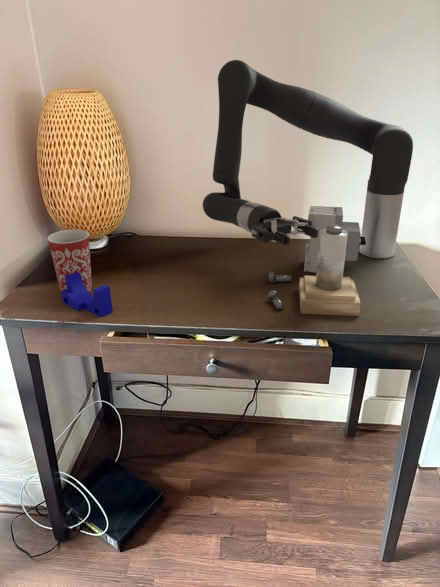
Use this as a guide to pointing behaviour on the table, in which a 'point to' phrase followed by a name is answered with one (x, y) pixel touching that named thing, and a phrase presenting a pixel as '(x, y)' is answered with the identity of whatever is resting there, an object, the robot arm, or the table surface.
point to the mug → (71, 256)
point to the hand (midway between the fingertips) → (303, 237)
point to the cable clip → (86, 296)
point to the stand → (328, 298)
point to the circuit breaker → (320, 220)
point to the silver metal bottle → (331, 257)
